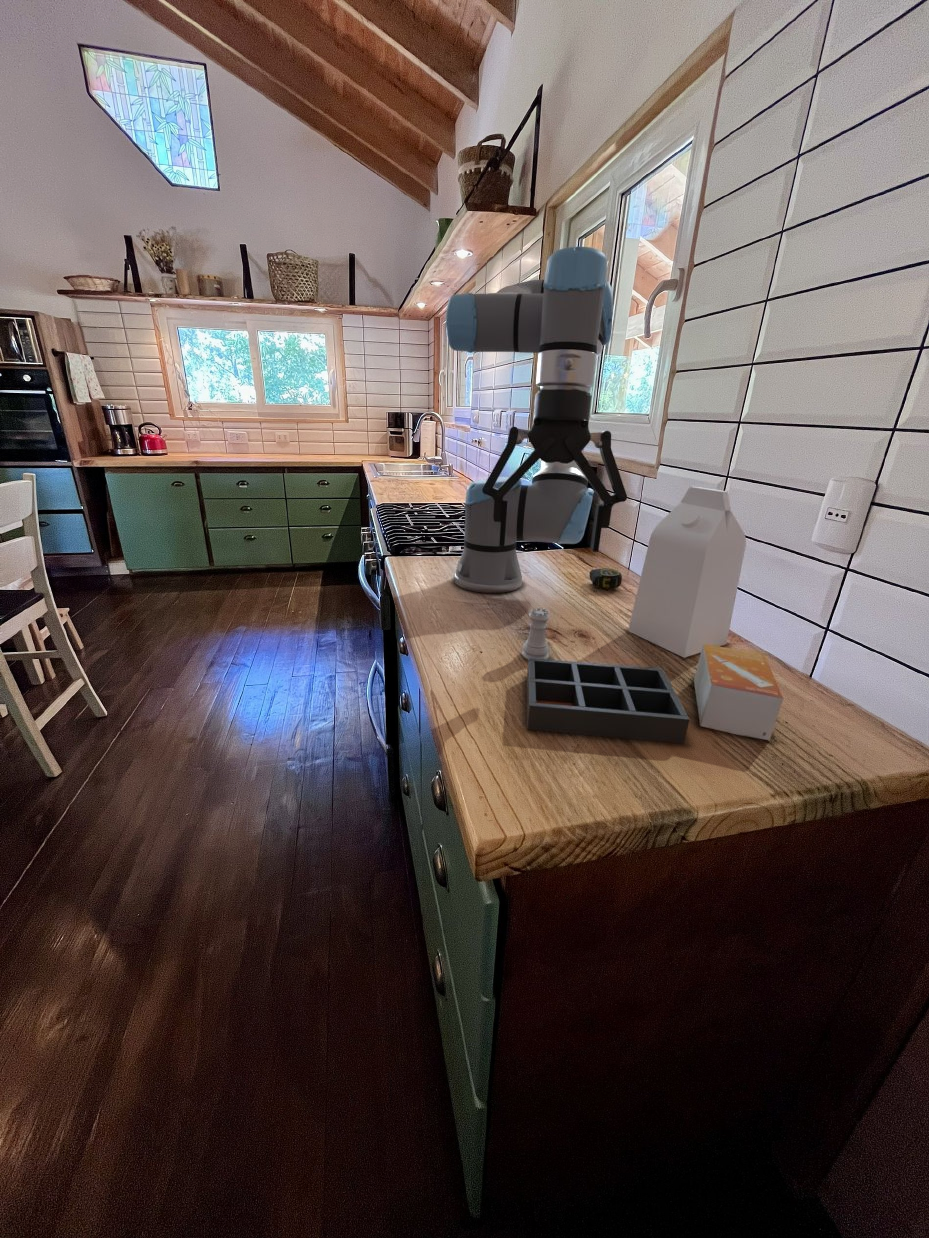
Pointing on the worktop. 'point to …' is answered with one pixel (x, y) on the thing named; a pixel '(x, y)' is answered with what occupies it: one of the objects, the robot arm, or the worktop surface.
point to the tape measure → (605, 578)
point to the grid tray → (604, 701)
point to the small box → (736, 692)
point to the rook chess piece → (537, 636)
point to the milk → (690, 575)
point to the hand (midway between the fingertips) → (547, 547)
